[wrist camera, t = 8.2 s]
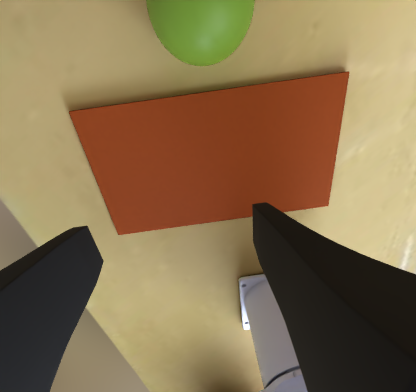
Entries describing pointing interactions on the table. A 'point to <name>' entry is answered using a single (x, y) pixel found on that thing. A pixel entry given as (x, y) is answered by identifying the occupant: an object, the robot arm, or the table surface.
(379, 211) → the table surface
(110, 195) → the cloth
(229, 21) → the apple
